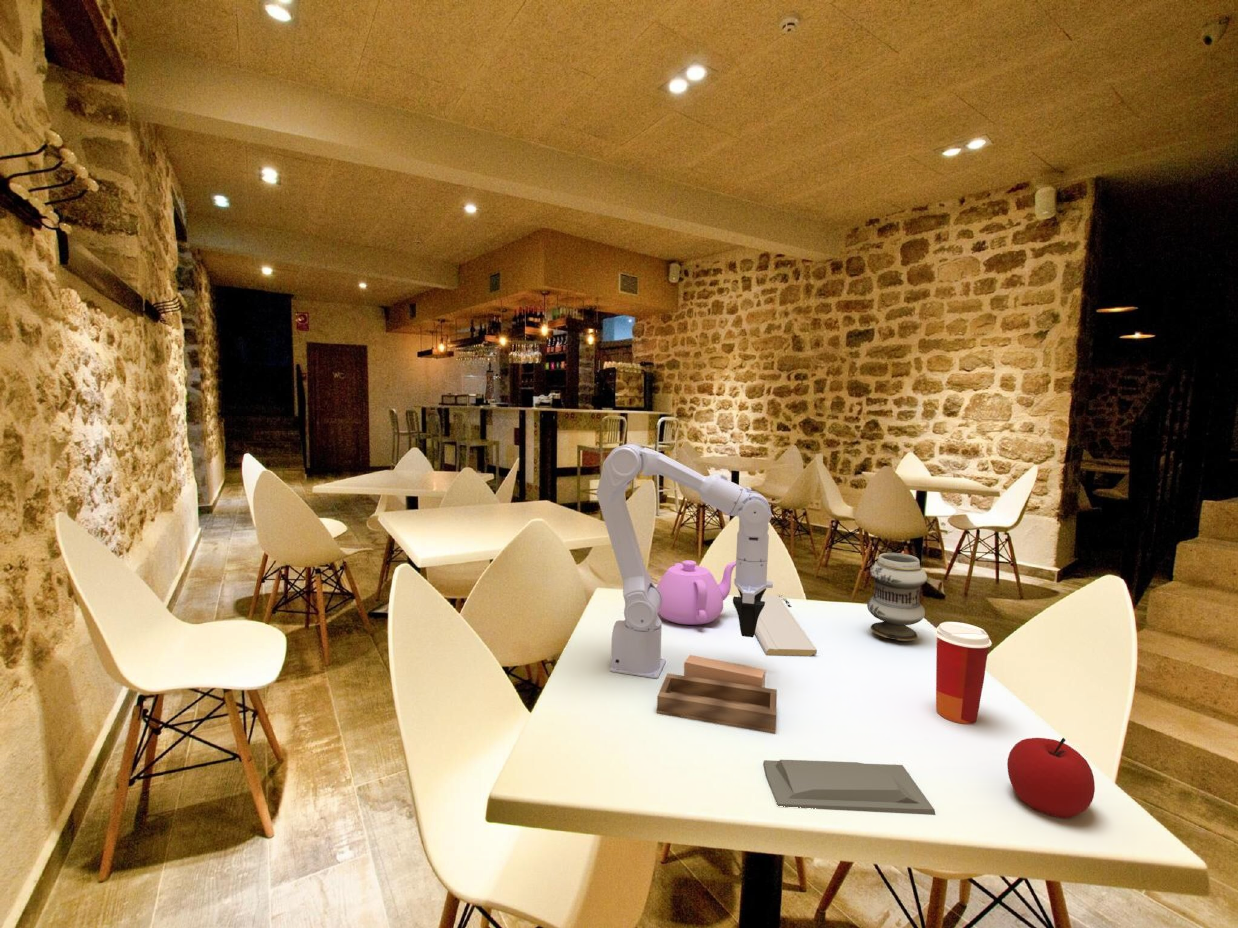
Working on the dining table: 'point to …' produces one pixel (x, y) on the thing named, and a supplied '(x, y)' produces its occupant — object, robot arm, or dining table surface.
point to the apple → (1051, 777)
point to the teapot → (693, 593)
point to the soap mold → (845, 786)
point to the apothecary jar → (896, 595)
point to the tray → (718, 702)
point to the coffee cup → (960, 670)
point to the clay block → (723, 671)
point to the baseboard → (781, 630)
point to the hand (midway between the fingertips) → (748, 628)
